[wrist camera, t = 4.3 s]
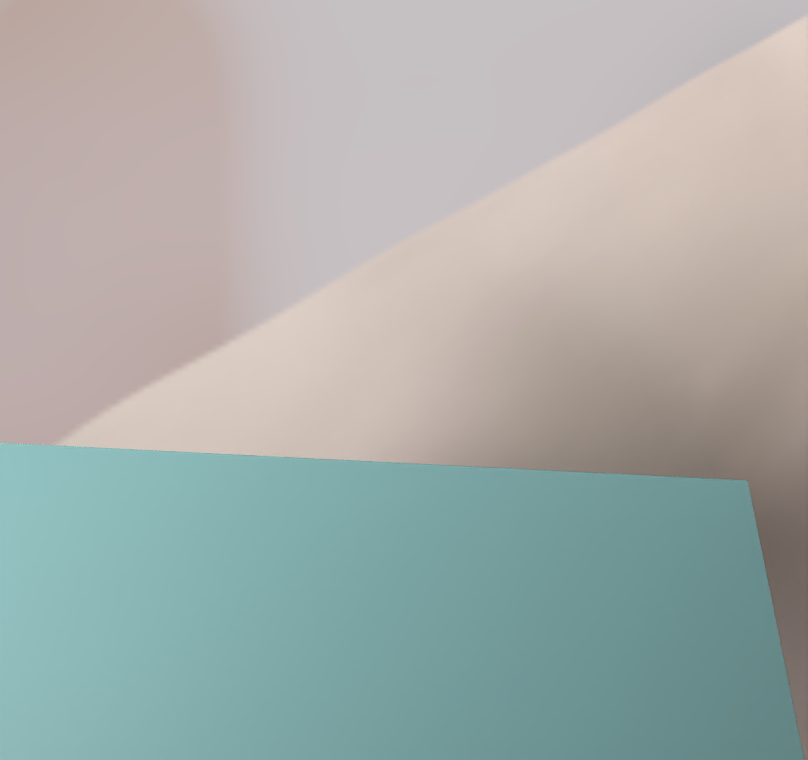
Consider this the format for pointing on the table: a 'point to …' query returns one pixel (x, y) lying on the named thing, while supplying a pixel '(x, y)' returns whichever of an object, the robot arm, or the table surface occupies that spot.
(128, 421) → the table surface
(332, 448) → the table surface
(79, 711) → the block
